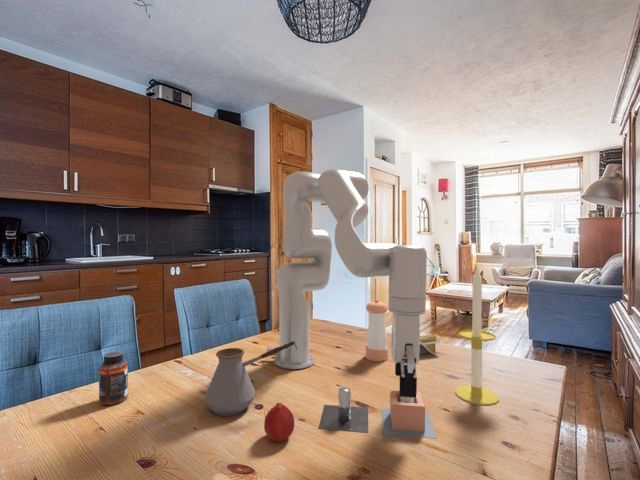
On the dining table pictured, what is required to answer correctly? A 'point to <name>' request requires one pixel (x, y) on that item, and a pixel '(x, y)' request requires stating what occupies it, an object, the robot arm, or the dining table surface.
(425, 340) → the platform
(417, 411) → the collar
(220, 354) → the coffee pot
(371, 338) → the salt shaker
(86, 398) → the dining table surface
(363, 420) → the stand
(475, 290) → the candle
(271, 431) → the onion
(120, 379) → the supplement bottle
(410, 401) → the blue peg base
